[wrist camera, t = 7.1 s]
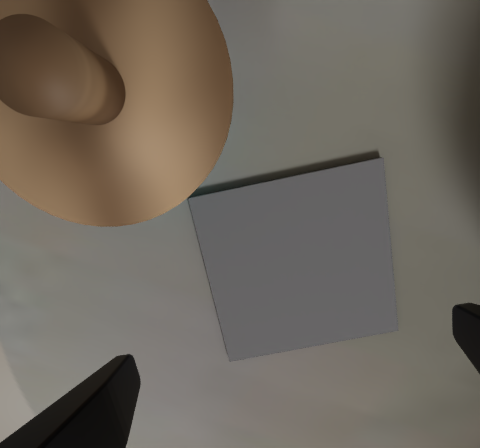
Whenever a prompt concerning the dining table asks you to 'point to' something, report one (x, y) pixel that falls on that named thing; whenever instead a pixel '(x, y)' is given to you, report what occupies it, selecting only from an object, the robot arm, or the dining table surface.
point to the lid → (111, 105)
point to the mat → (299, 259)
